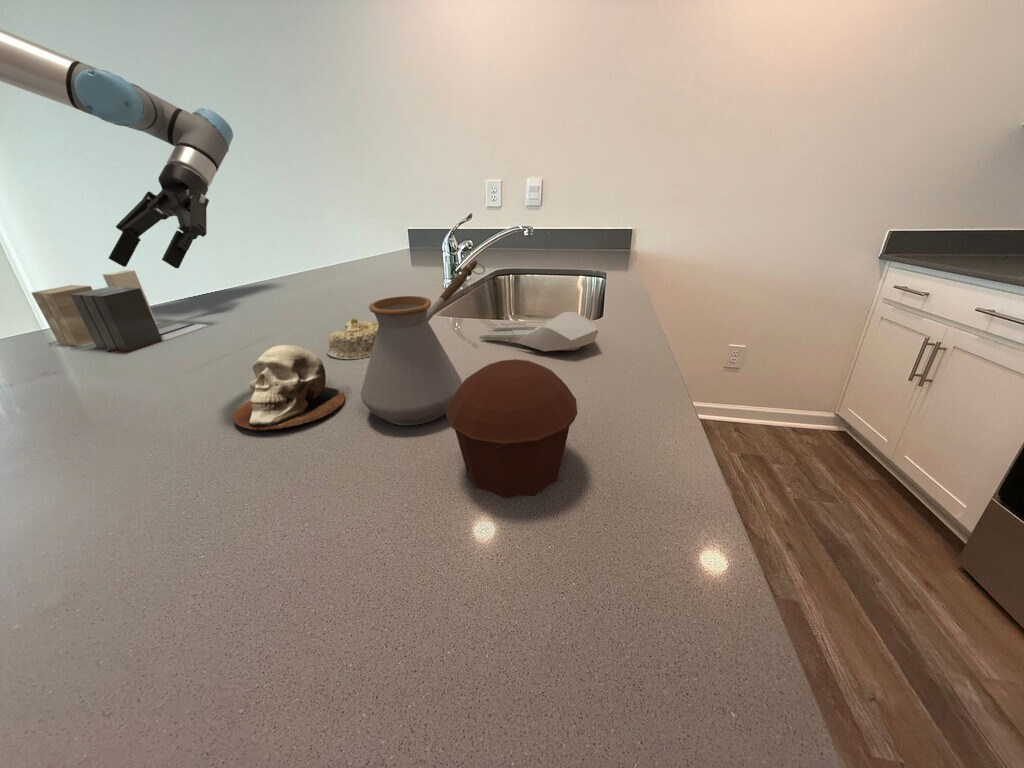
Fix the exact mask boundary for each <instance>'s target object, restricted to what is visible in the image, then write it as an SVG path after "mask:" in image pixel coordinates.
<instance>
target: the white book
mask: <svg viewBox="0 0 1024 768" xmlns="http://www.w3.org/2000/svg"><path fill="white" fill-rule="evenodd" d="M102 277H103V278H104V281H105V283H106V287H126V288H140V289H141V291H142V293H143V296H144V298H145V300H146V303H147V305H148V307H149V310H150V312H151V314H152V317H153V319H154V322H155V323H156V322H157V320H156V317H155V316H154V313H153V310H152V308H151V306H150V304H149V301H148V299H147V297H146V296H147V295H146V293H145V291H144V289H143V287H142V284H141V282H140V279H139V277H138V275H137V273H136V270H127V269H126V270H120V271H113V272H108V273H103V274H102Z"/></svg>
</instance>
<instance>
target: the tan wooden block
mask: <svg viewBox="0 0 1024 768" xmlns="http://www.w3.org/2000/svg"><path fill="white" fill-rule="evenodd" d="M90 290H93V288H92V286H91V285H78V284H76V285H75V284H70V285H65V286H59V287H54V288H53V287H52V288H48V289H42V290H38V291H32V292H31V296H32V297H33V299H34V301H35V303H36V304H37V306H38V308H39V310H40V313H42V316H43V317H44V319H45V321H46V323H47V324H48V327H49V329H50V330H51V332H52V334H53V336H54V337H55V339H56V341H57V343H58V345H60V346H61V345H62V346H71V347H72V346H73V347H81V346H83V345H87V344H90V343H94V341H93V339H92V337H91V335H90V333H89V331H88V329H87V327H86V325H85V323H84V321H83V319H82V317H81V315H80V313H79V311H78V309H77V307H76V305H75V303H74V301H73V299H72V297H71V294H75V293H80V292H85V291H90Z"/></svg>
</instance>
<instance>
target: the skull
mask: <svg viewBox="0 0 1024 768" xmlns="http://www.w3.org/2000/svg"><path fill="white" fill-rule="evenodd" d="M252 371H253V373H254V375H255V380H251V381H250V383H249V388H250V390H251V391H253V394H252V396H251V398H250V400H249V401H247V402H245V403H243V404H242V405H240V406H239V407H238V408H236V410H235V411H234V412H233V414H232V417H231V419H232V422H233V423H234V424H235V425H237V426H239V427H241V428H245V429H248V430H255V431H258V430H259V431H269V430H277V429H279V430H280V429H283V428H290V427H296V426H297V427H298V426H300V425H302V424H303V425H305V424H306V423H310V422H313V423H316V422H317V420H318V419H323V417H328V416H329V415H330V414H331V413H333V412H335V411H336V410H337V409H339V408H340V407H341V406H342V405H343V404H344V402H345V398H346V395H345V394H344V393H343V391H341V390H340V389H336V388H332V387H328V386H326V384H327V383H326V379H327V378H326V376H327V375H326V369H325V366H324V363H323V360H322V359H321V358H320V357H319V356H317V355H316V354H314V353H313V352H312V351H310V350H308V349H305V348H304V347H300V346H297V345H291V344H290V345H289V344H278V345H275V346H272V347H270V348H268V349H266V351H264V352H263V353H262V354H261V355H260V356H259V357H258V358H257V360H255V362H254V363H253V365H252Z"/></svg>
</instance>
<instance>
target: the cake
mask: <svg viewBox="0 0 1024 768" xmlns="http://www.w3.org/2000/svg"><path fill="white" fill-rule="evenodd" d="M378 326H379V323H378V322H375V321H371V320H370V321H369V320H363V321H359V320H358V319H357V318H356V319H354V318H351V319H350V321H348V322H346V323H345V324H344V328H345V330H338V331H335V332H332V333H330V334H329V335H328V346H327V347H326V348H325V353H326V354H327V355H329V357H332V358H336V359H341V360H356V359H358V360H359V359H365V358H368V357H369V358H370V356H371V352H372V349H373V345H374V341H375V337H376V333H377V329H378Z"/></svg>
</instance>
